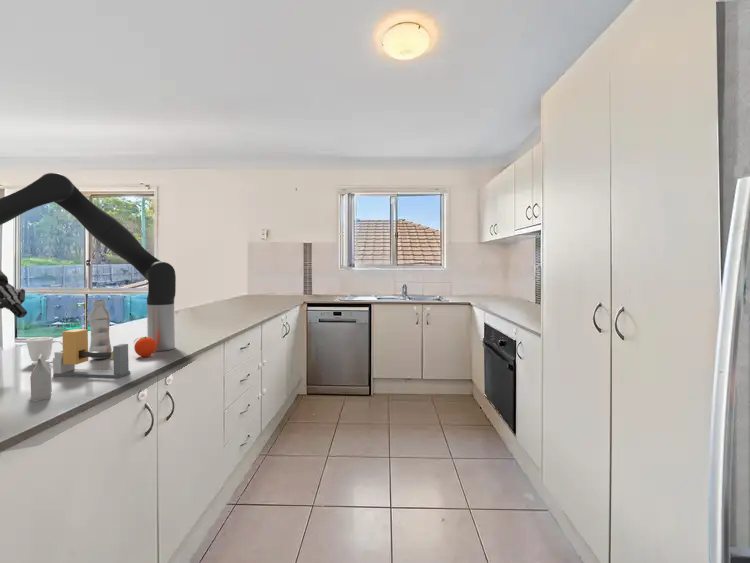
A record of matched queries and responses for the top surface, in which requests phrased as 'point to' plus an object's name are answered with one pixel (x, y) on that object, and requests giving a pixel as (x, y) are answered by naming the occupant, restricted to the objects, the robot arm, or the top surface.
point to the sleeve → (74, 345)
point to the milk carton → (41, 380)
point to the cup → (40, 348)
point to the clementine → (145, 346)
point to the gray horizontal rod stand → (120, 369)
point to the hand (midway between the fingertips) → (23, 315)
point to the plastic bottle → (99, 328)
